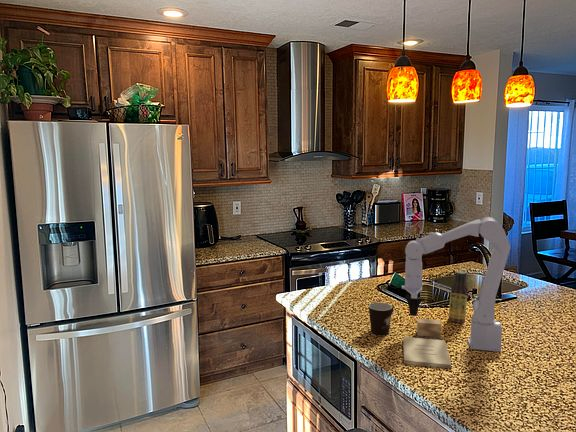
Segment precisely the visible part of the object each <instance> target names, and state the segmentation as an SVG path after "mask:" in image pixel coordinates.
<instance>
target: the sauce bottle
mask: <svg viewBox="0 0 576 432" xmlns="http://www.w3.org/2000/svg"><path fill="white" fill-rule="evenodd" d="M454 276H455V278H454V282H453V284H452V285H451V288H450V294H449V307H448V320H449V321H450V322H452V323H459V324H460V323H464V322H465V321H466V316H467V304H468V287H467V285H466V277H467V272H466V271H463V270H455V273H454Z"/></svg>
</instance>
